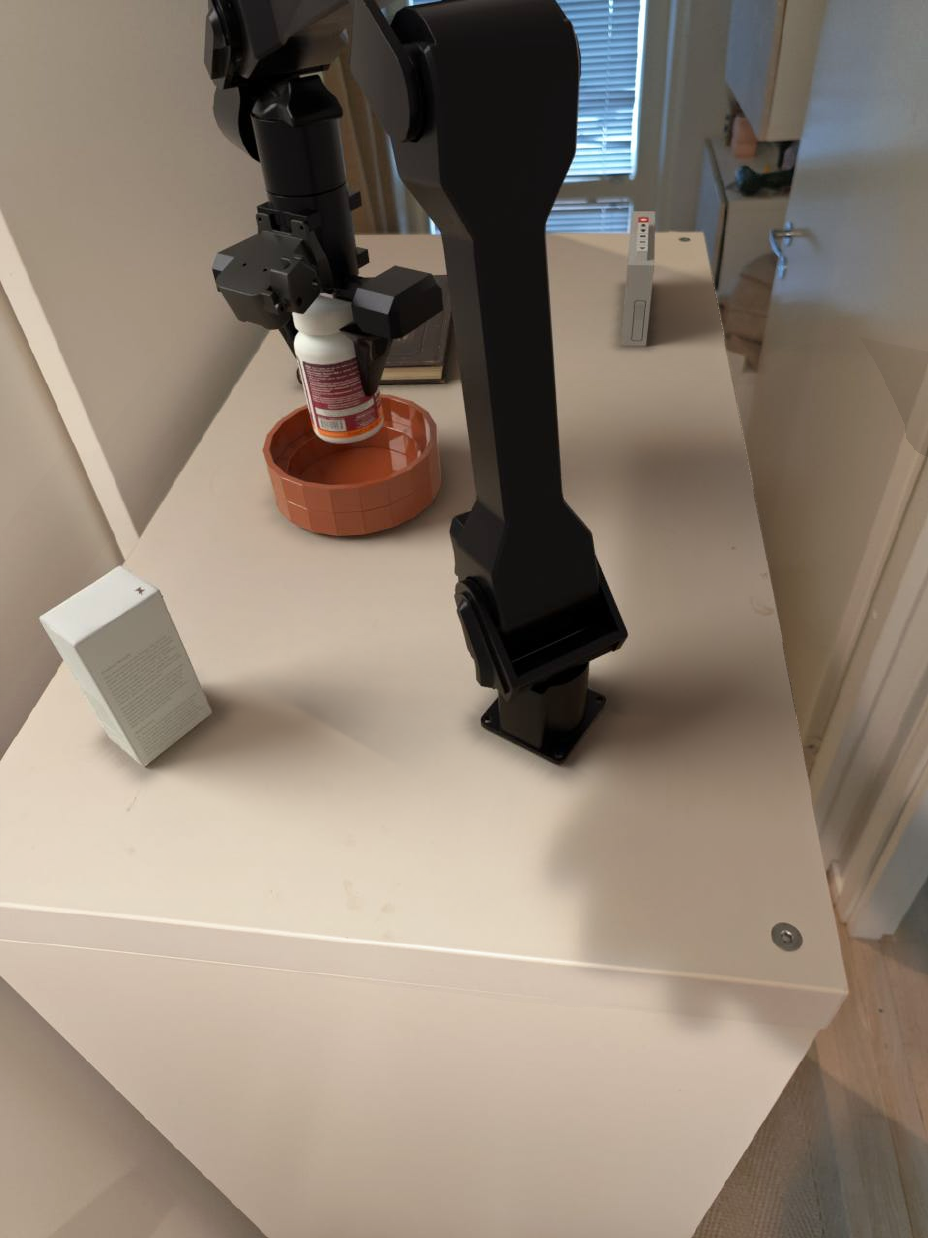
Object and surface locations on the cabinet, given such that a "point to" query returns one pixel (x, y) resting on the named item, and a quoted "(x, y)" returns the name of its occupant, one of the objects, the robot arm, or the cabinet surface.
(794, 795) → the cabinet surface
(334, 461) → the bowl
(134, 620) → the cosmetic box
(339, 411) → the pill bottle
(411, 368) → the hardcover book
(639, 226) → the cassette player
